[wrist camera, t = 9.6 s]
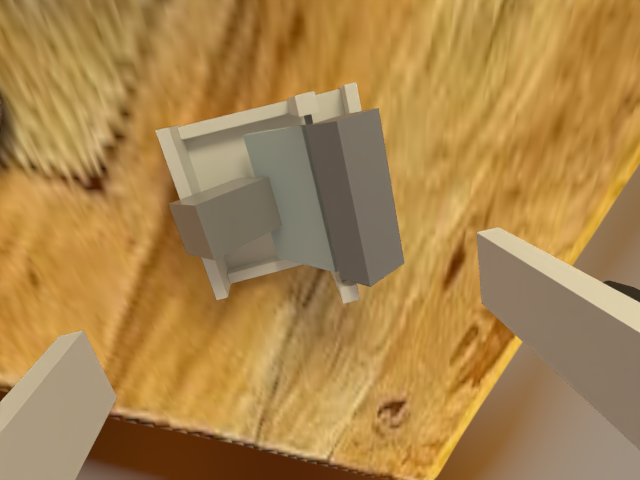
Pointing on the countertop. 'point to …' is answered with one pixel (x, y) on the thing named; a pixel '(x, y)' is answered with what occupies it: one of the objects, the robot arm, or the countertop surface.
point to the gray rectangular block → (226, 216)
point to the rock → (0, 112)
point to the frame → (246, 172)
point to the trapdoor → (332, 195)
